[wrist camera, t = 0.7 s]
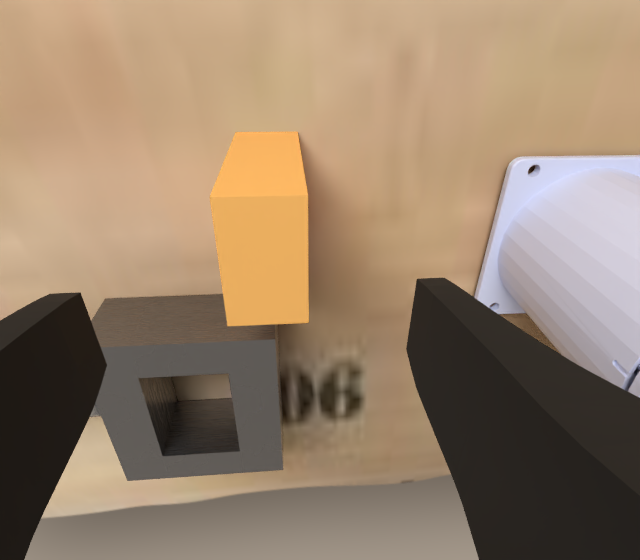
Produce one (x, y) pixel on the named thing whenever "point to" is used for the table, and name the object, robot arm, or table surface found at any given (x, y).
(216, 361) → the grey peg hole fixture
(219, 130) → the table surface
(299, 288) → the tall orange cuboid
